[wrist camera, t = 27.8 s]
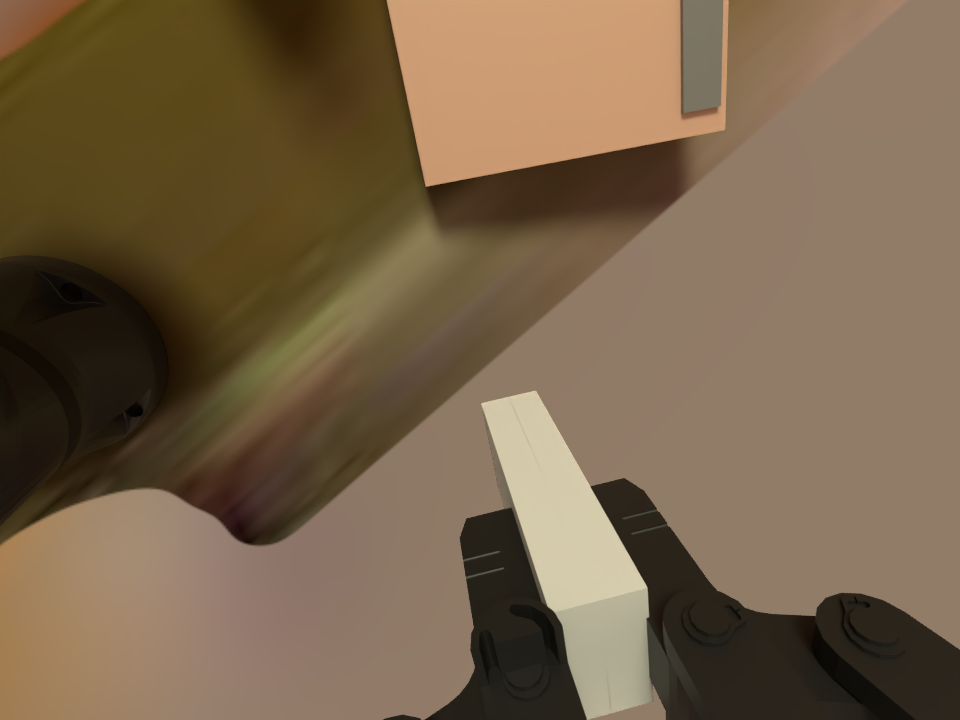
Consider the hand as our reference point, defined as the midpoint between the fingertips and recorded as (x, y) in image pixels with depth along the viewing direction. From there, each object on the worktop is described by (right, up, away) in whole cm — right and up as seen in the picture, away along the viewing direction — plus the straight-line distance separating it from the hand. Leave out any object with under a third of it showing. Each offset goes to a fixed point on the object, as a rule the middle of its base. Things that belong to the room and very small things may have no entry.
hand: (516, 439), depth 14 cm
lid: (+4, +23, +18) cm, 29 cm away
